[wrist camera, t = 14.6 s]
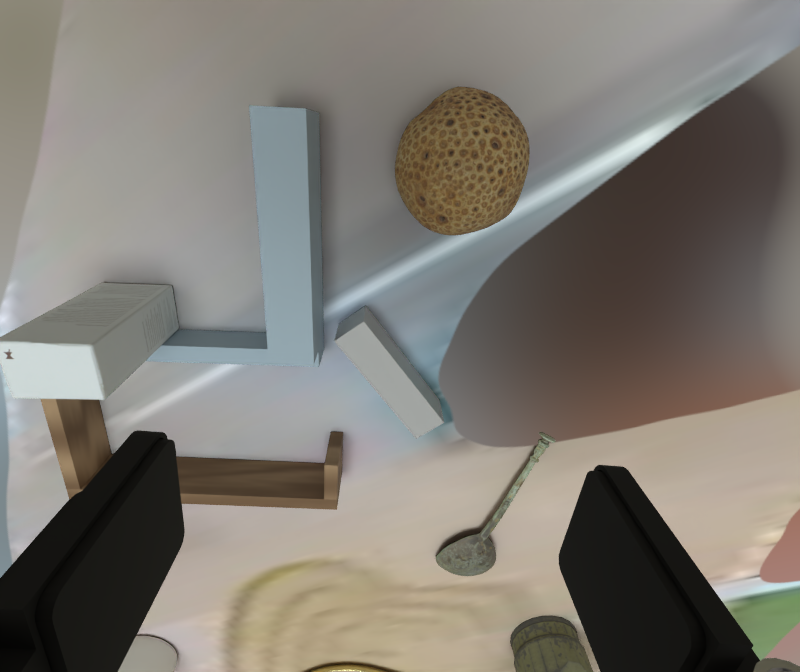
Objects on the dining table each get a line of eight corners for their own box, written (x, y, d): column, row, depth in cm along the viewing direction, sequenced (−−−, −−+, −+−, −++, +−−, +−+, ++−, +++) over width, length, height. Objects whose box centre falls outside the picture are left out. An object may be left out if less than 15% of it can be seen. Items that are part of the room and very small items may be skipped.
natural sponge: (404, 84, 33) (411, 64, 24) (522, 105, 34) (573, 94, 24) (386, 210, 36) (386, 236, 27) (493, 227, 37) (528, 257, 28)
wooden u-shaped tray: (72, 345, 41) (32, 372, 36) (345, 361, 42) (339, 388, 37) (101, 462, 46) (69, 499, 41) (341, 473, 47) (336, 509, 43)
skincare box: (112, 327, 40) (8, 400, 29) (102, 281, 38) (-13, 339, 27) (182, 329, 40) (105, 402, 29) (175, 284, 38) (90, 343, 28)
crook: (49, 97, 33) (-19, 89, 27) (319, 112, 34) (305, 108, 28) (106, 341, 41) (62, 373, 35) (324, 349, 41) (314, 381, 36)
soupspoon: (424, 557, 54) (472, 569, 56) (427, 583, 51) (478, 596, 53) (519, 420, 45) (573, 439, 47) (530, 443, 42) (586, 462, 44)
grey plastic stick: (339, 322, 41) (334, 341, 37) (365, 304, 40) (363, 321, 36) (413, 414, 45) (416, 438, 41) (439, 398, 44) (443, 422, 40)
